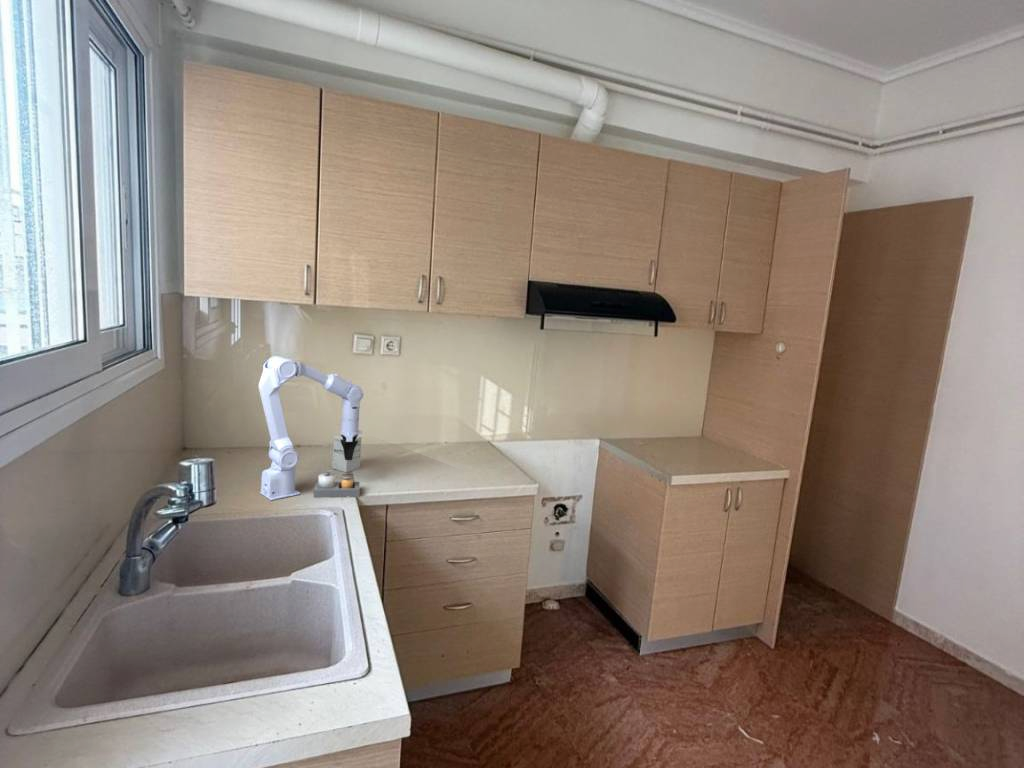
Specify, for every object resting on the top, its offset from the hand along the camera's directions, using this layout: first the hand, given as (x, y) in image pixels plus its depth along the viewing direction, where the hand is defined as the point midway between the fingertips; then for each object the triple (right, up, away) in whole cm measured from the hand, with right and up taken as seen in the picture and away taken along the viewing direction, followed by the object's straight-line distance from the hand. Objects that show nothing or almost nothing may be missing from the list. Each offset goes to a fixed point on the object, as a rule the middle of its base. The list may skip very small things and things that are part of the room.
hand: (348, 456), depth 180 cm
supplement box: (-6, -7, +16) cm, 19 cm away
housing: (-1, -11, -9) cm, 14 cm away
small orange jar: (+2, -11, -8) cm, 14 cm away
